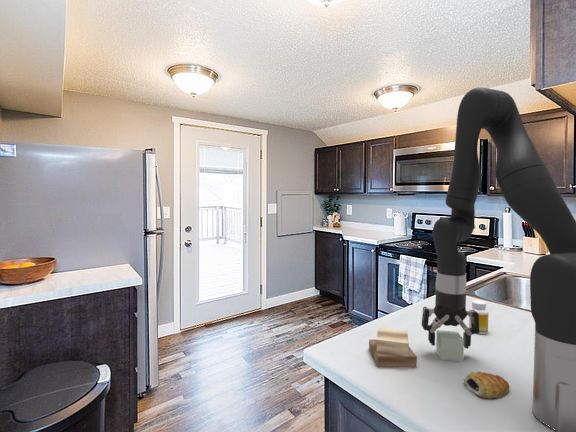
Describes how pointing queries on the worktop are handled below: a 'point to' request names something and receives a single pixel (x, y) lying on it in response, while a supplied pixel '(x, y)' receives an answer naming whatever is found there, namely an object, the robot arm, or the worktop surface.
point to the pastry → (486, 384)
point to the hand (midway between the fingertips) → (449, 345)
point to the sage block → (450, 345)
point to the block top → (392, 342)
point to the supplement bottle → (480, 315)
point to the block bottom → (392, 358)
